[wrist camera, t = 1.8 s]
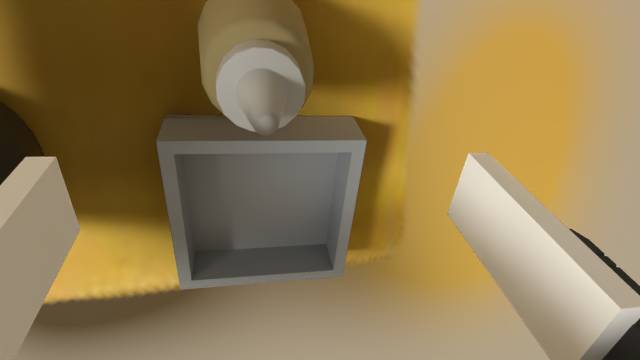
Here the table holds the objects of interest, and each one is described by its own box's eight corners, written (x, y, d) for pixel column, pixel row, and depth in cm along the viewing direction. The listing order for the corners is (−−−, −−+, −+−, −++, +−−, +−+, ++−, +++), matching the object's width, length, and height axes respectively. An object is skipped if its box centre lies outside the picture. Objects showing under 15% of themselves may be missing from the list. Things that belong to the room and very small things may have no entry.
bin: (185, 254, 44) (180, 289, 40) (165, 114, 34) (156, 141, 30) (333, 245, 47) (342, 276, 43) (352, 116, 38) (366, 140, 33)
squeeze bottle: (239, 92, 34) (241, 223, 20) (179, 7, 30) (122, 95, 15) (317, 45, 33) (381, 147, 18) (267, -50, 28) (301, -16, 14)
